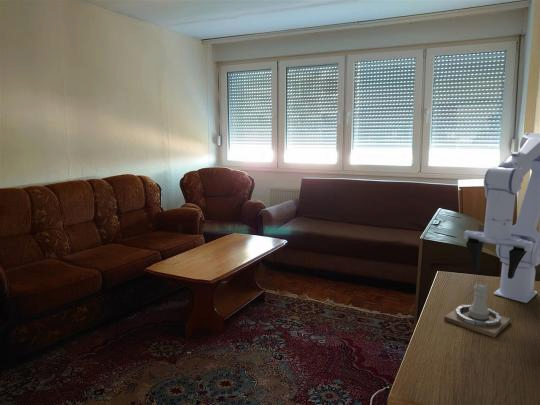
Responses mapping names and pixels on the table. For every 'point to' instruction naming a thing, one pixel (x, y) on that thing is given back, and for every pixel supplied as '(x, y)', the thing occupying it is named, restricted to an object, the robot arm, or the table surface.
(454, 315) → the socket board
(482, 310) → the rook chess piece
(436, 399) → the table surface
